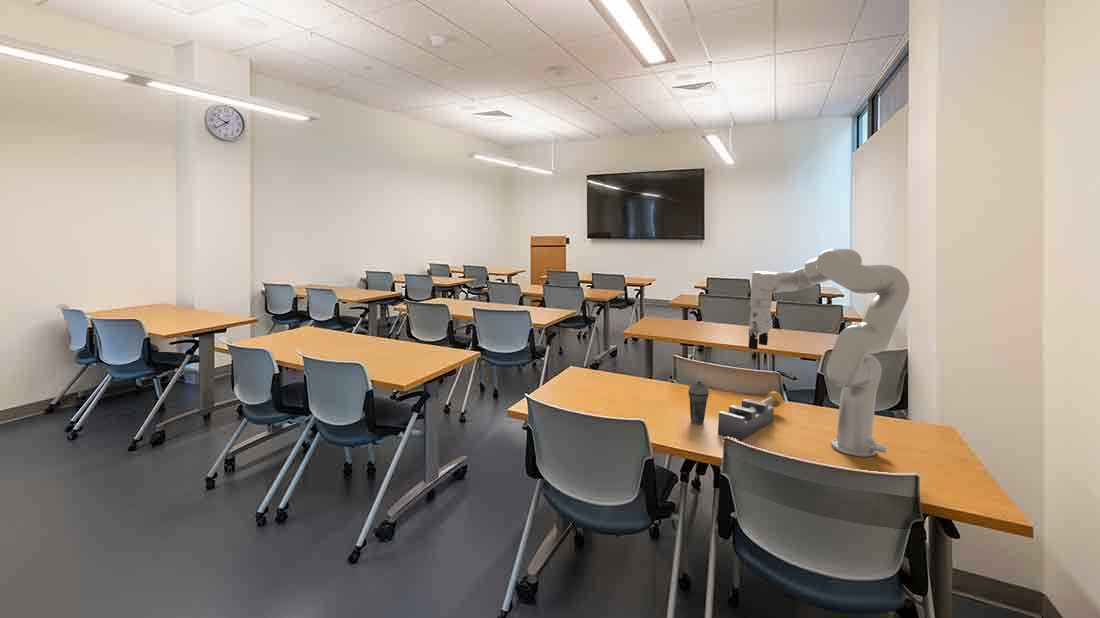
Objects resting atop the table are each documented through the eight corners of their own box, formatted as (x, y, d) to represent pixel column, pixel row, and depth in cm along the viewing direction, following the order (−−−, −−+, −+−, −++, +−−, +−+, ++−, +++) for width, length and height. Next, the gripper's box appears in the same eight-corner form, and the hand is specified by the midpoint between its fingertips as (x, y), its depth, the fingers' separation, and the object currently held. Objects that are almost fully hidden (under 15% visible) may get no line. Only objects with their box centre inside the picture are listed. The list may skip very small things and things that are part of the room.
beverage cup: (709, 426, 179) (712, 373, 176) (689, 426, 179) (692, 373, 177) (704, 419, 186) (706, 367, 184) (684, 418, 187) (686, 367, 184)
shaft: (782, 408, 192) (783, 393, 191) (753, 424, 174) (754, 408, 174) (766, 404, 196) (767, 389, 195) (737, 420, 179) (738, 404, 178)
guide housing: (772, 422, 183) (774, 400, 182) (741, 441, 166) (742, 417, 165) (750, 416, 189) (752, 395, 188) (717, 434, 172) (719, 411, 171)
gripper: (761, 306, 181) (758, 351, 183) (779, 302, 193) (776, 344, 195) (741, 304, 186) (739, 348, 188) (759, 300, 198) (757, 342, 200)
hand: (757, 346), depth 192 cm, fingers open, 9 cm apart
